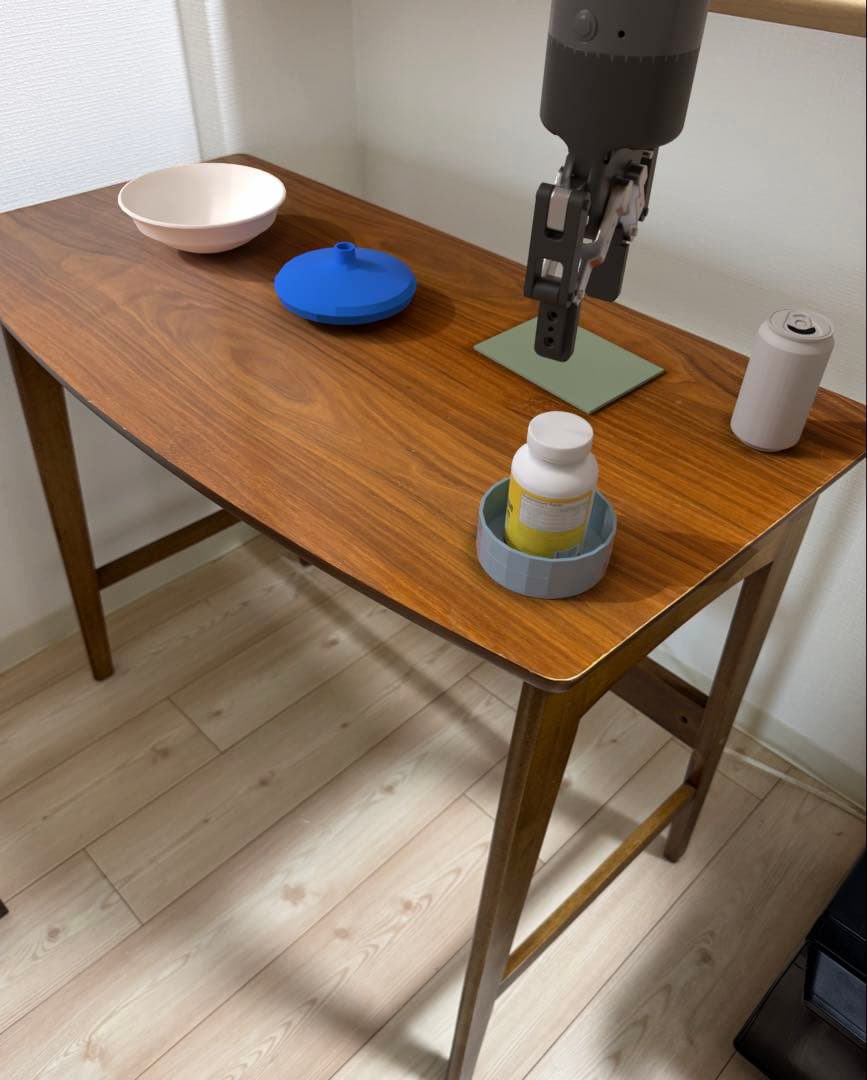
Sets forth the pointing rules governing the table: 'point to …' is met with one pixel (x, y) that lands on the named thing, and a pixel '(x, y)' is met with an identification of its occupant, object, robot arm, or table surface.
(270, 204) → the bowl
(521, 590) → the grey-blue round dish
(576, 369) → the mat
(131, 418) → the table surface
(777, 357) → the beverage can
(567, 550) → the pill bottle
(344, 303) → the vase
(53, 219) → the table surface
